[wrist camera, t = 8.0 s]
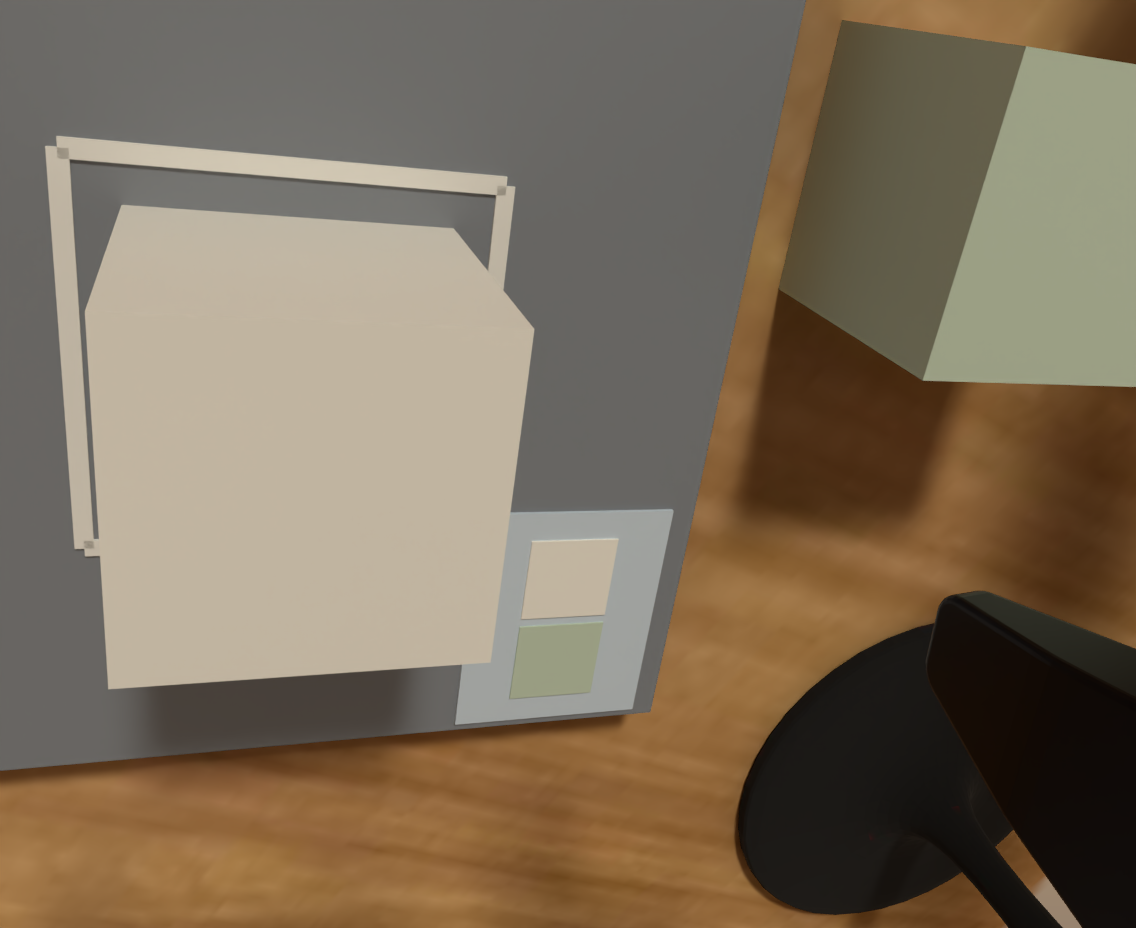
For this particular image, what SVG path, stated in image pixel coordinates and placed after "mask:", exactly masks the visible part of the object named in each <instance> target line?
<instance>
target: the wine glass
mask: <svg viewBox="0 0 1136 928" xmlns="http://www.w3.org/2000/svg"><path fill="white" fill-rule="evenodd" d="M934 624H935V623H934ZM934 624H930V625H926V626H921V627H917V628H914V629H912V630H909V631H906V632H904V633H901V634H898V635H896V636H893V637H890V638H888V639H886V640H884V641H882V642H880V643H878V644H876V645H874V646H872V647H870V648H868V649H866V650H864V651H862V652H860V653H859V654H857V655H856V656H854V657H853V658H851V659H850V660H848V661H847V662H845V663H844V664H842V665H841V666H839V667H838V668H836V669H835V670H833V671H832V672H831V673H830V674H828V675H827V676H826V677H825V678H824V679H822V680H821V681H820V682H819V683H817V684H816V685H815V686H814V687H812V688H811V689H810V690H809V691H808V692H807V693H806V694H805V695H804V696H803V697H802V698H801V699H800V700H799V701H798V702H797V704H796V705H795V706H794V707H793V708H792V709H791V710H790V711H789V712H788V713H787V715H786V716H785V717H784V718H783V720H782V721H781V722H780V723H779V725H778V726H777V727H776V729H775V730H774V731H773V732H772V734H771V735H770V737H769V738H768V740H767V742H766V743H765V745H764V747H763V749H762V750H761V752H760V754H759V755H758V757H757V759H756V761H755V763H754V765H753V768H752V770H751V772H750V775H749V777H748V779H747V782H746V784H745V788H744V792H743V796H742V800H741V804H740V812H739V826H738V830H739V836H740V843H741V849H742V851H743V854H744V856H745V859H746V861H747V864H748V866H749V868H750V869H751V871H752V873H753V874H754V876H755V877H756V878H757V880H758V881H759V882H760V884H761V885H762V886H763V888H765V889H766V890H767V891H768V892H769V893H771V894H772V895H773V896H774V897H776V898H777V899H779V900H781V901H783V902H785V903H787V904H789V905H791V906H793V907H795V908H798V909H802V910H805V911H809V912H812V913H821V914H834V915H836V914H850V913H861V912H866V911H871V910H877V909H882V908H885V907H888V906H892V905H895V904H898V903H901V902H904V901H907V900H909V899H912V898H914V897H916V896H919V895H921V894H923V893H926V892H928V891H930V890H932V889H934V888H935V887H937V886H939V885H941V884H943V883H945V882H947V881H948V880H950V879H952V878H953V877H955V876H956V875H958V874H959V873H961V872H963V873H964V875H965V876H966V877H967V878H968V879H969V880H970V881H971V882H972V883H973V884H974V886H975V887H976V888H977V889H978V890H979V892H980V893H981V894H982V895H983V896H984V898H985V899H986V900H987V901H988V902H989V904H990V905H991V906H992V907H993V909H994V910H995V911H996V912H997V913H998V915H999V916H1000V917H1001V918H1002V920H1003V921H1004V922H1005V924H1006V925H1007V926H1008V928H1062V926H1061V925H1060V924H1059V923H1058V922H1057V921H1056V920H1055V919H1054V918H1053V917H1052V915H1051V914H1050V913H1049V912H1048V911H1047V910H1046V909H1045V908H1044V907H1043V905H1042V904H1041V903H1040V902H1039V901H1038V900H1037V899H1036V897H1035V896H1034V895H1033V894H1032V893H1031V892H1030V891H1029V889H1028V888H1027V887H1026V886H1025V885H1024V883H1023V882H1022V881H1021V880H1020V878H1019V877H1018V876H1017V875H1016V874H1015V872H1014V871H1013V870H1012V869H1011V867H1010V866H1009V865H1008V864H1007V863H1006V861H1005V860H1004V859H1003V857H1002V856H1001V855H1000V853H999V852H998V850H997V849H996V848H995V846H996V845H997V844H999V843H1000V842H1001V841H1002V840H1003V839H1004V838H1005V837H1006V836H1007V835H1008V834H1009V833H1010V832H1011V831H1012V830H1013V828H1012V826H1011V825H1010V823H1009V822H1008V820H1007V819H1006V817H1005V816H1004V814H1003V812H1002V811H1001V809H1000V808H999V806H998V804H997V803H996V801H995V799H994V798H993V796H992V794H991V792H990V791H989V789H988V787H987V785H986V784H985V782H984V780H983V778H982V777H981V775H980V773H979V771H978V770H977V768H976V766H975V764H974V762H973V761H972V759H971V757H970V755H969V754H968V752H967V750H966V748H965V747H964V745H963V743H962V741H961V739H960V738H959V736H958V734H957V732H956V731H955V729H954V727H953V725H952V724H951V722H950V720H949V718H948V717H947V715H946V713H945V711H944V709H943V708H942V706H941V704H940V702H939V701H938V699H937V697H936V695H935V694H934V692H933V690H932V688H931V686H930V684H929V681H928V678H927V673H926V658H927V654H928V649H929V645H930V641H931V637H932V632H933V628H934Z"/></svg>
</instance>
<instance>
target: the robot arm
mask: <svg viewBox="0 0 1136 928" xmlns="http://www.w3.org/2000/svg"><path fill="white" fill-rule="evenodd" d="M926 673H927V678H928V681H929V684H930V686H931V688H932V690H933V692H934V694H935V695H936V697H937V699H938V701H939V702H940V704H941V706H942V708H943V709H944V711H945V713H946V715H947V717H948V718H949V720H950V722H951V724H952V725H953V727H954V729H955V731H956V732H957V734H958V736H959V738H960V739H961V741H962V743H963V745H964V747H965V748H966V750H967V752H968V754H969V755H970V757H971V759H972V761H973V762H974V764H975V766H976V768H977V770H978V771H979V773H980V775H981V777H982V778H983V780H984V782H985V784H986V785H987V787H988V789H989V791H990V792H991V794H992V796H993V798H994V799H995V801H996V803H997V804H998V806H999V808H1000V809H1001V811H1002V812H1003V814H1004V816H1005V817H1006V819H1007V820H1008V822H1009V823H1010V825H1011V826H1012V828H1013V829H1014V831H1015V832H1016V834H1017V835H1018V837H1019V838H1020V840H1021V841H1022V843H1023V844H1024V845H1025V847H1026V848H1027V850H1028V851H1029V853H1030V854H1031V855H1032V857H1033V858H1034V860H1035V861H1036V863H1037V864H1038V865H1039V867H1040V868H1041V870H1042V871H1043V873H1044V874H1045V875H1046V877H1047V878H1048V880H1049V881H1050V883H1051V884H1052V885H1053V887H1054V888H1055V890H1056V891H1057V892H1058V894H1059V895H1060V897H1061V898H1062V900H1063V901H1064V903H1065V904H1066V905H1067V907H1068V908H1069V910H1070V911H1071V912H1072V914H1073V915H1074V917H1075V918H1076V920H1077V921H1078V922H1079V924H1080V925H1081V927H1082V928H1136V649H1135V648H1132V647H1130V646H1127V645H1124V644H1122V643H1119V642H1117V641H1114V640H1112V639H1109V638H1106V637H1104V636H1101V635H1099V634H1096V633H1093V632H1091V631H1088V630H1086V629H1083V628H1080V627H1078V626H1075V625H1073V624H1070V623H1067V622H1065V621H1062V620H1060V619H1057V618H1054V617H1052V616H1049V615H1047V614H1044V613H1042V612H1039V611H1036V610H1034V609H1031V608H1029V607H1026V606H1023V605H1021V604H1018V603H1016V602H1013V601H1010V600H1008V599H1005V598H1003V597H1000V596H997V595H995V594H992V593H990V592H986V591H973V592H967V593H961V594H955V595H951V596H948V597H946V598H945V599H944V600H943V601H942V602H941V604H940V605H939V608H938V611H937V615H936V619H935V624H934V628H933V632H932V637H931V641H930V645H929V649H928V654H927V658H926Z"/></svg>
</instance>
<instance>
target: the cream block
mask: <svg viewBox="0 0 1136 928" xmlns="http://www.w3.org/2000/svg"><path fill="white" fill-rule="evenodd" d="M85 324H86V340H87V356H88V372H89V388H90V404H91V420H92V436H93V452H94V468H95V484H96V500H97V516H98V532H99V548H100V564H101V580H102V596H103V612H104V628H105V644H106V660H107V676H108V689H121V688H135V687H149V686H163V685H178V684H192V683H206V682H220V681H235V680H249V679H263V678H278V677H292V676H306V675H320V674H335V673H349V672H363V671H377V670H392V669H406V668H420V667H434V666H449V665H463V664H477V663H491V656H492V648H493V641H494V633H495V625H496V618H497V610H498V603H499V595H500V587H501V580H502V572H503V565H504V557H505V549H506V542H507V534H508V527H509V519H510V511H511V504H512V496H513V489H514V481H515V474H516V466H517V458H518V451H519V443H520V436H521V428H522V420H523V413H524V405H525V398H526V390H527V382H528V375H529V367H530V360H531V352H532V344H533V337H534V328H533V327H532V325H531V324H530V323H529V322H528V320H527V319H526V318H525V317H524V315H523V314H522V313H521V312H520V310H519V309H518V308H517V307H516V305H515V304H514V303H513V302H512V300H511V299H510V298H509V297H508V296H507V294H506V293H505V292H504V291H503V289H502V288H501V287H500V286H499V284H498V283H497V282H496V281H495V279H494V278H493V277H492V276H491V274H490V273H489V272H488V271H487V269H486V268H485V267H484V266H483V264H482V263H481V262H480V261H479V259H478V258H477V257H476V256H475V254H474V253H473V252H472V251H471V249H470V248H469V247H468V246H467V244H466V243H465V242H464V241H463V239H462V238H461V237H460V236H459V234H458V233H457V232H456V231H455V229H454V228H442V227H428V226H414V225H400V224H386V223H372V222H358V221H344V220H330V219H316V218H302V217H288V216H274V215H260V214H245V213H231V212H217V211H203V210H189V209H175V208H161V207H147V206H133V205H121V208H120V211H119V214H118V216H117V219H116V222H115V225H114V228H113V231H112V234H111V237H110V240H109V243H108V245H107V248H106V251H105V254H104V257H103V260H102V263H101V266H100V269H99V272H98V274H97V277H96V280H95V283H94V286H93V289H92V292H91V295H90V298H89V301H88V303H87V306H86V309H85Z"/></svg>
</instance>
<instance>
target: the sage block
mask: <svg viewBox="0 0 1136 928" xmlns="http://www.w3.org/2000/svg"><path fill="white" fill-rule="evenodd" d="M779 290H781V291H782V292H784V293H786V294H787V295H789V296H790V297H792V298H793V299H795V300H797V301H798V302H800V303H801V304H803V305H804V306H806V307H808V308H809V309H811V310H812V311H814V312H815V313H817V314H819V315H820V316H822V317H823V318H825V319H826V320H828V321H830V322H831V323H833V324H834V325H836V326H838V327H839V328H841V329H842V330H844V331H845V332H847V333H849V334H850V335H852V336H853V337H855V338H856V339H858V340H860V341H861V342H863V343H864V344H866V345H867V346H869V347H871V348H872V349H874V350H875V351H877V352H878V353H880V354H882V355H883V356H885V357H886V358H888V359H889V360H891V361H893V362H894V363H896V364H897V365H899V366H900V367H902V368H904V369H905V370H907V371H908V372H910V373H911V374H913V375H915V376H916V377H918V378H919V379H921V380H922V381H951V382H985V383H1019V384H1053V385H1087V386H1122V387H1136V64H1130V63H1124V62H1118V61H1112V60H1106V59H1100V58H1094V57H1088V56H1081V55H1075V54H1069V53H1063V52H1057V51H1051V50H1045V49H1039V48H1033V47H1027V46H1020V45H1013V44H1006V43H999V42H992V41H985V40H978V39H971V38H964V37H957V36H950V35H943V34H936V33H929V32H922V31H915V30H908V29H901V28H894V27H887V26H880V25H873V24H866V23H859V22H852V21H845V20H842V22H841V27H840V31H839V35H838V39H837V44H836V48H835V52H834V56H833V60H832V65H831V69H830V73H829V77H828V82H827V86H826V90H825V94H824V99H823V103H822V107H821V111H820V116H819V120H818V124H817V128H816V132H815V137H814V141H813V145H812V149H811V154H810V158H809V162H808V166H807V171H806V175H805V179H804V183H803V187H802V192H801V196H800V200H799V204H798V209H797V213H796V217H795V221H794V226H793V230H792V234H791V238H790V243H789V247H788V251H787V255H786V259H785V264H784V268H783V272H782V276H781V281H780V285H779Z"/></svg>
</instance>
